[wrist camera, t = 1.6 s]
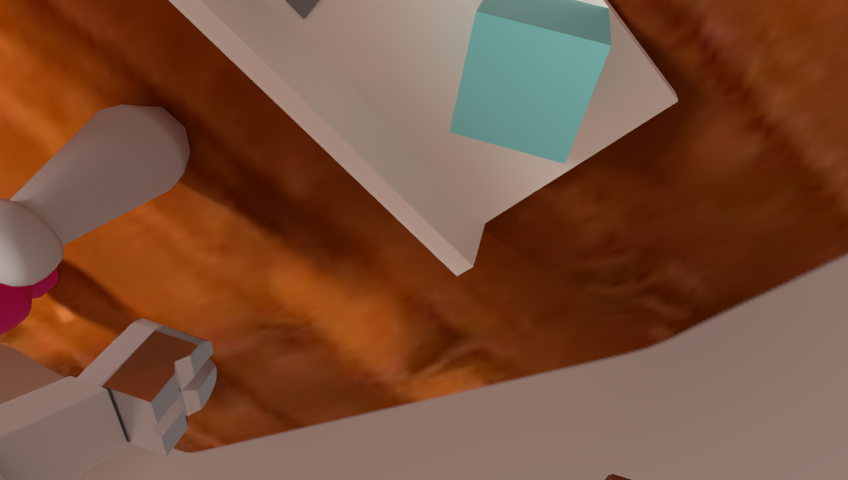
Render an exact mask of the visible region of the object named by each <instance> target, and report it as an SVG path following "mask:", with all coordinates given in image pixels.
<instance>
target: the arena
mask: <svg viewBox="0 0 848 480" xmlns="http://www.w3.org/2000/svg"><path fill="white" fill-rule="evenodd" d="M169 1H170V2H171V3H172V4H173V5H174V6H175V7H176V8H177V9H178V10H179V11H180V12H181V13H182V14H183V15H184V16H185V17H186V18H187V19H189V20H190V21H191V22H192V23H193V24H194V25H195V26H196V27H197V28H198V29H199V30H200V31H201V32H202V33H203V34H204V35H205V36H206V37H207V38H208V39H209V40H210V41H212V42H213V43H214V44H215V45H216V46H217V47H218V48H219V49H220V50H221V51H222V52H223V53H224V54H225V55H226V56H227V57H228V58H229V59H230V60H231V61H232V62H233V63H234V64H236V65H237V66H238V67H239V68H240V69H241V70H242V71H243V72H244V73H245V74H246V75H247V76H248V77H249V78H250V79H251V80H252V81H253V82H254V83H255V84H256V85H257V86H259V87H260V88H261V89H262V90H263V91H264V92H265V93H266V94H267V95H268V96H269V97H270V98H271V99H272V100H273V101H274V102H275V103H276V104H277V105H278V106H279V107H280V108H282V109H283V110H284V111H285V112H286V113H287V114H288V115H289V116H290V117H291V118H292V119H293V120H294V121H295V122H296V123H297V124H298V125H299V126H300V127H301V128H302V129H303V130H305V131H306V132H307V133H308V134H309V135H310V136H311V137H312V138H313V139H314V140H315V141H316V142H317V143H318V144H319V145H320V146H321V147H322V148H323V149H324V150H325V151H326V152H327V153H329V154H330V155H331V156H332V157H333V158H334V159H335V160H336V161H337V162H338V163H339V164H340V165H341V166H342V167H343V168H344V169H345V170H346V171H347V172H348V173H349V174H350V175H352V176H353V177H354V178H355V179H356V180H357V181H358V182H359V183H360V184H361V185H362V186H363V187H364V188H365V189H366V190H367V191H368V192H369V193H370V194H371V195H372V196H373V197H375V198H376V199H377V200H378V201H379V202H380V203H381V204H382V205H383V206H384V207H385V208H386V209H387V210H388V211H389V212H390V213H391V214H392V215H393V216H394V217H395V218H396V219H397V220H399V221H400V222H401V223H402V224H403V225H404V226H405V227H406V228H407V229H408V230H409V231H410V232H411V233H412V234H413V235H414V236H415V237H416V238H417V239H418V240H419V241H420V242H422V243H423V244H424V245H425V246H426V247H427V248H428V249H429V250H430V251H431V252H432V253H433V254H434V255H435V256H436V257H437V258H438V259H439V260H440V261H441V262H442V263H443V264H445V265H446V266H447V267H448V268H449V269H450V270H451V271H452V272H453V273H454V274H455V275H456V276H458V275H460V274H462V273H463V272H465V271H467V270H469V269H470V268H472V267H473V266H474V262H475V258H476V255H477V251H478V248H479V244H480V240H481V237H482V233H483V229H484V226H485V223H486V222H488V221H490V220H491V219H493V218H494V217H496V216H497V215H499V214H501V213H502V212H504V211H505V210H507V209H509V208H510V207H512V206H513V205H515V204H516V203H518V202H520V201H521V200H523V199H524V198H526V197H527V196H529V195H531V194H532V193H534V192H535V191H537V190H539V189H540V188H542V187H543V186H545V185H546V184H548V183H550V182H551V181H553V180H554V179H556V178H558V177H559V176H561V175H562V174H564V173H565V172H567V171H569V170H570V169H572V168H573V167H575V166H577V165H578V164H580V163H581V162H583V161H584V160H586V159H588V158H589V157H591V156H592V155H594V154H596V153H597V152H599V151H600V150H602V149H603V148H605V147H607V146H608V145H610V144H611V143H613V142H615V141H616V140H618V139H619V138H621V137H622V136H624V135H626V134H627V133H629V132H630V131H632V130H633V129H635V128H637V127H638V126H640V125H641V124H643V123H645V122H646V121H648V120H649V119H651V118H652V117H654V116H656V115H657V114H659V113H660V112H662V111H664V110H665V109H667V108H668V107H670V106H671V105H673V104H675V103H676V102H678V98H677V95H676V92H675V91H674V89H673V88H672V87H671V85H670V84H669V83H668V81H667V80H666V79H665V77H664V76H663V75H662V73H661V72H660V71H659V69H658V68H657V67H656V65H655V64H654V62H653V61H652V60H651V58H650V57H649V56H648V54H647V53H646V52H645V50H644V49H643V48H642V46H641V45H640V44H639V42H638V41H637V40H636V38H635V37H634V35H633V34H632V33H631V31H630V30H629V29H628V27H627V26H626V25H625V23H624V22H623V21H622V19H621V18H620V17H619V15H618V14H617V13H616V11H615V10H614V8H613V7H612V6H611V4H610V3H609V2H608V0H577V1H581V2H585V3H589V4H593V5H597V6H601V7H606V8H609V19H610V33H611V48H610V51H609V53H608V56H607V58H606V61H605V63H604V66H603V68H602V71H601V73H600V76H599V78H598V81H597V84H596V86H595V89H594V91H593V94H592V96H591V99H590V101H589V104H588V106H587V109H586V112H585V114H584V117H583V119H582V122H581V124H580V127H579V129H578V132H577V134H576V137H575V140H574V142H573V145H572V147H571V150H570V152H569V155H568V157H567V160H566V162H565V164H563V163H560V162H556V161H552V160H549V159H545V158H541V157H538V156H534V155H531V154H527V153H523V152H520V151H516V150H512V149H509V148H505V147H501V146H498V145H494V144H491V143H487V142H483V141H480V140H476V139H472V138H469V137H465V136H461V135H458V134H454V133H451V132H450V127H451V123H452V118H453V113H454V109H455V104H456V100H457V95H458V91H459V86H460V82H461V77H462V73H463V68H464V64H465V59H466V55H467V50H468V45H469V41H470V36H471V32H472V27H473V23H474V18H475V14H476V11H477V9H478V7H479V6H480V4H481V3H482V1H483V0H169Z"/></svg>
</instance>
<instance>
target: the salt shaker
mask: <svg viewBox="0 0 848 480" xmlns="http://www.w3.org/2000/svg"><path fill="white" fill-rule="evenodd" d="M190 153H191V152H190V147H189V142H188V137H187V132H186V128H185V127H184V126H183V125H182V124H181V123H180V122H179V121H177V120H176V119H175V118H174V117H173V116H172V115H171V114H170V113H168V112H167V111H166V110H165V109H164V108H163V107H147V106H136V105H125V104H121V105H117V106H114V107H110V108H107V109H103V110H100V111H98V112H97V113H96V114H95V115H94V116H93V117H92V118H91V119H90V120H89V121H88V122H87V123H86V124H85V125H84V126H83V127H82V128H81V129H80V130H79V131H78V132H77V133H76V134H75V135H74V136H73V137H72V138H71V139H70V140H69V141H68V142H67V143H66V144H65V145H64V146H63V147H62V148H61V149H60V150H59V151H58V152H57V153H56V154H55V155H54V156H53V157H52V158H51V159H50V160H49V161H48V162H47V163H46V164H45V165H44V166H43V167H42V168H41V169H40V170H39V171H38V172H37V173H36V174H35V175H34V176H33V177H32V178H31V179H30V180H29V181H28V182H27V183H26V184H25V185H24V186H23V187H22V188H21V189H20V190H19V191H18V192H17V193H16V194H15V195H14V196H13V197H12V198H11V199H10V200H7V199H3V198H0V283H2V284H6V285H9V286H28V285H34V284H35V283H37V282H39V281H41V280H42V279H44V278H46V277H47V276H48V275H49V274H50V273H51V272H52V271H54V270H55V269H56V267H57V266H58V265H59V263H60V262H61V260H62V259H63V257H64V251H63V245H65V244H67V243H69V242H71V241H72V240H74V239H76V238H78V237H80V236H82V235H84V234H86V233H88V232H90V231H92V230H94V229H96V228H98V227H100V226H101V225H103V224H105V223H107V222H109V221H111V220H113V219H115V218H117V217H119V216H121V215H123V214H125V213H127V212H129V211H130V210H132V209H134V208H136V207H138V206H140V205H142V204H144V203H146V202H148V201H150V200H152V199H154V198H156V197H157V196H159V195H161V194H163V193H165V192H167V191H169V190H171V189H172V188H173V186H174V185H175V184H176V183H177V181H178V180H179V179H180V178H181V177H182V175H183V174H184V171H185V168H186V165H187V162H188V159H189V156H190Z"/></svg>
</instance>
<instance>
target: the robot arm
mask: <svg viewBox="0 0 848 480" xmlns="http://www.w3.org/2000/svg"><path fill="white" fill-rule="evenodd" d="M212 353H213V348H212V344H211V341H208V340H205V339H202V338H199V337H196V336H193V335H190V334H187V333H184V332H181V331H178V330H175V329H172V328H169V327H167V326H165V325H161V324H158V323H155V322H152V321H149V320H146V319H143V318H141V319H139V320H137V321H135V322H133V323H132V324H131V325H130V326H129V327H128V328H127V329H126V330H125V331H124V332H123V333H122V334H120V335H119V336H118V337H117V338H116V339H115V340H114V341H113V342H112V343H111V344H110V345H109V346H108V347H107V348H106V349H105V350H104V351H103V352H102V353H101V354H100V355H99V356H98V357H97V358H96V359H95V360H94V361H93V362H92V363H91V364H90V365H89V366H88V367H87V368H86V369H85V370H84V371H83V372H82V373H81V374H80V375H79V376H78V377H77V378H75V377H72V376H69V377H66V378H64V379H61V380H59V381H57V382H55V383H52V384H49V385H47V386H45V387H42V388H40V389H37V390H35V391H32V392H30V393H27V394H25V395H22V396H20V397H18V398H15V399H13V400H10V401H8V402H5V403H3V404H1V405H0V480H73V479H75V478H77V477H78V476H80V475H81V474H83V473H85V472H86V471H88V470H89V469H91V468H93V467H95V466H96V465H98V464H99V463H101V462H103V461H104V460H106V459H108V458H109V457H111V456H113V455H114V454H116V453H117V452H119V451H121V450H122V449H124V448H126V447H127V446H128V443H129V444H132V445H136V446H138V447H141V448H144V449H147V450H150V451H153V452H156V453H160V454H162V455H165V456H167V455H168V454H169V453H170V451H171V450H172V449H173V447H174V446H175V444H176V443H177V442H178V440H179V439H180V438H181V436H182V435H183V434H184V432H185V431H186V429H187V428H188V416H189V415H191V414H193V413H195V412H197V411H199V410H201V409H202V407H203V406H204V404H205V403H206V402H207V400H208V399H209V397H210V395H211V393H212V390H213V388H214V386H215V383H216V376H217V372H216V366H215V365H214V363H213V362H212V361H211V360H210V359H209V357H210V356H211V355H212ZM605 480H630V479H627V478H623V477H621V476H617V475H614V474H611V475H608V477H607V478H606V479H605Z"/></svg>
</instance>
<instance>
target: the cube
mask: <svg viewBox="0 0 848 480" xmlns="http://www.w3.org/2000/svg"><path fill="white" fill-rule="evenodd" d="M610 48H611V33H610V19H609V8H606V7H601V6H597V5H593V4H589V3H585V2H581V1H577V0H483V1H482V3H481V4H480V6H479V7H478V9H477V11H476V14H475V18H474V23H473V27H472V32H471V36H470V41H469V45H468V50H467V55H466V59H465V64H464V68H463V73H462V77H461V82H460V86H459V91H458V95H457V100H456V104H455V109H454V113H453V118H452V123H451V127H450V132H451V133H454V134H458V135H461V136H465V137H469V138H472V139H476V140H480V141H483V142H487V143H491V144H494V145H498V146H501V147H505V148H509V149H512V150H516V151H520V152H523V153H527V154H531V155H534V156H538V157H541V158H545V159H549V160H552V161H556V162H560V163H563V164H565V162H566V160H567V157H568V155H569V152H570V150H571V147H572V145H573V142H574V140H575V137H576V134H577V132H578V129H579V127H580V124H581V122H582V119H583V117H584V114H585V112H586V109H587V106H588V104H589V101H590V99H591V96H592V94H593V91H594V89H595V86H596V84H597V81H598V78H599V76H600V73H601V71H602V68H603V66H604V63H605V61H606V58H607V56H608V53H609V51H610Z"/></svg>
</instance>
